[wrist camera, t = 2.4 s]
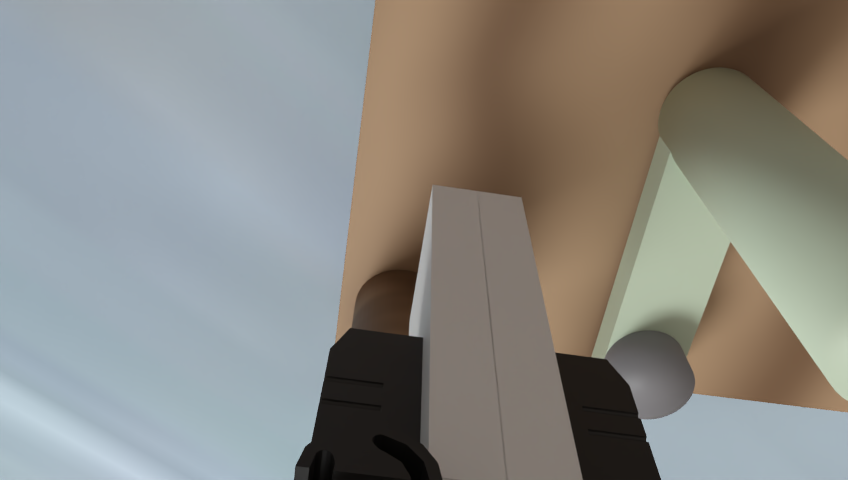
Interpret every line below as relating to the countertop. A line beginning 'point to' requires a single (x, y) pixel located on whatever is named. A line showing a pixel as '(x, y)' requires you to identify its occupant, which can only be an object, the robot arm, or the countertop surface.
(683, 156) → the crank handle
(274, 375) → the countertop surface
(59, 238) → the countertop surface
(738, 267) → the wooden peg board
